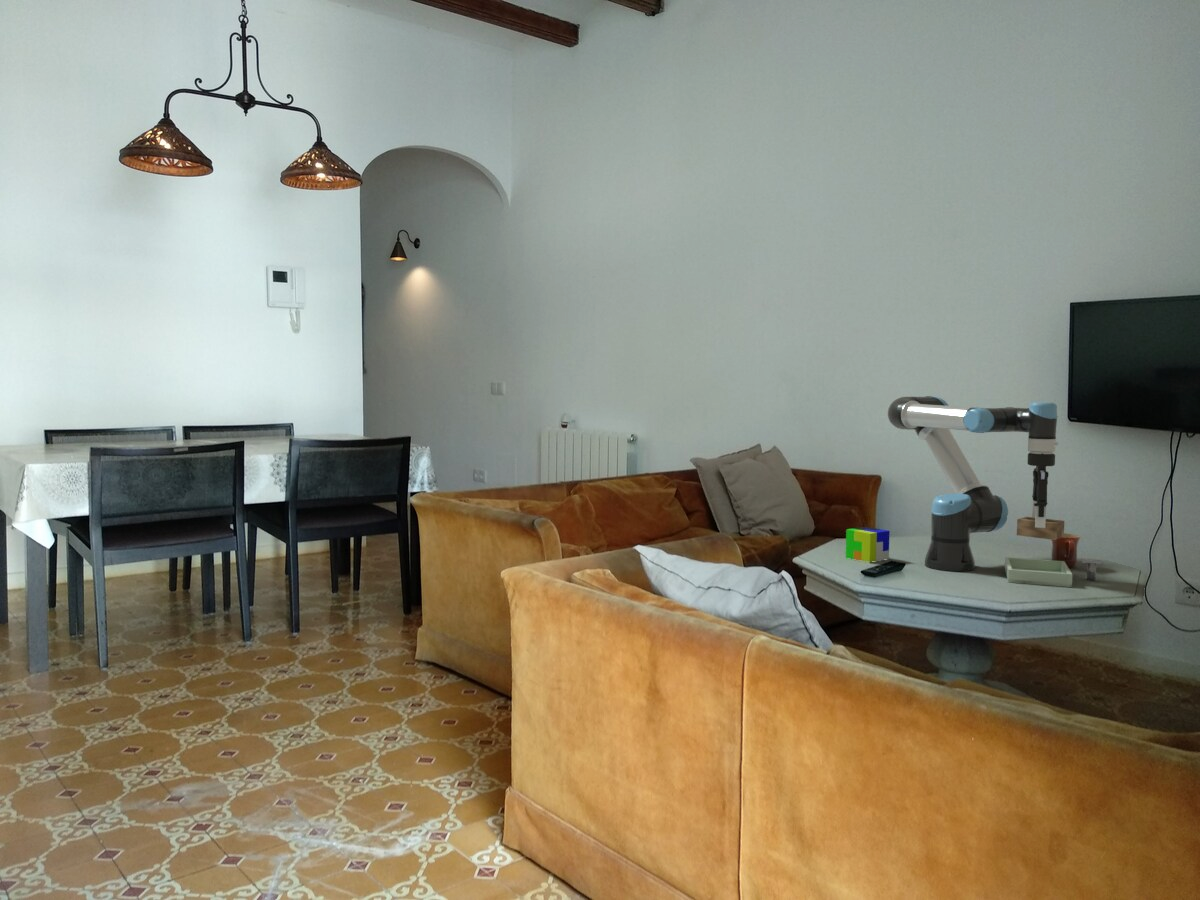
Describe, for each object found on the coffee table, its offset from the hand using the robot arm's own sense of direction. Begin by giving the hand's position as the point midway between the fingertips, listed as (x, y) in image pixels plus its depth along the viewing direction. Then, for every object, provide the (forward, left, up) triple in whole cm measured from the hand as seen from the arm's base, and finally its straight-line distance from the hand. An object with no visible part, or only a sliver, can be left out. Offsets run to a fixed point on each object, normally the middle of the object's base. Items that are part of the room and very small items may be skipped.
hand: (1038, 524), depth 267 cm
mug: (+10, +19, -16) cm, 27 cm away
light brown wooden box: (+1, 0, -3) cm, 3 cm away
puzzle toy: (-51, +9, -17) cm, 54 cm away
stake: (+15, +1, -16) cm, 22 cm away
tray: (0, -1, -16) cm, 16 cm away
